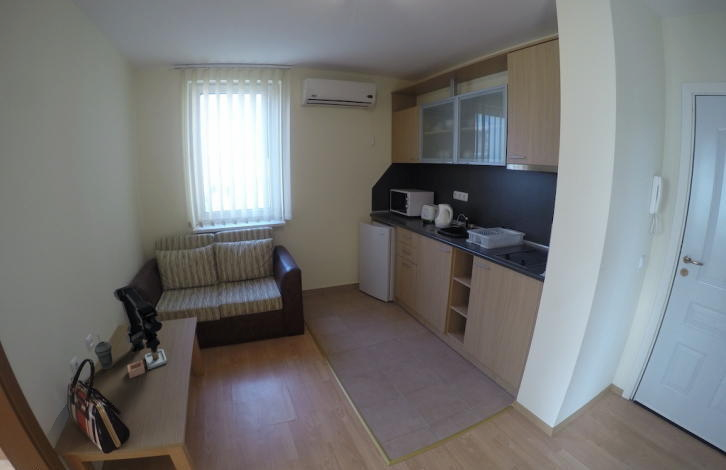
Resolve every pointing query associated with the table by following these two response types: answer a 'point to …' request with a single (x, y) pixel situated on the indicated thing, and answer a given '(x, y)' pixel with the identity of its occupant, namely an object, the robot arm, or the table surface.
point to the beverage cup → (104, 354)
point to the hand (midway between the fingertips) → (153, 350)
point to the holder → (136, 369)
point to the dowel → (155, 355)
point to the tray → (158, 362)
